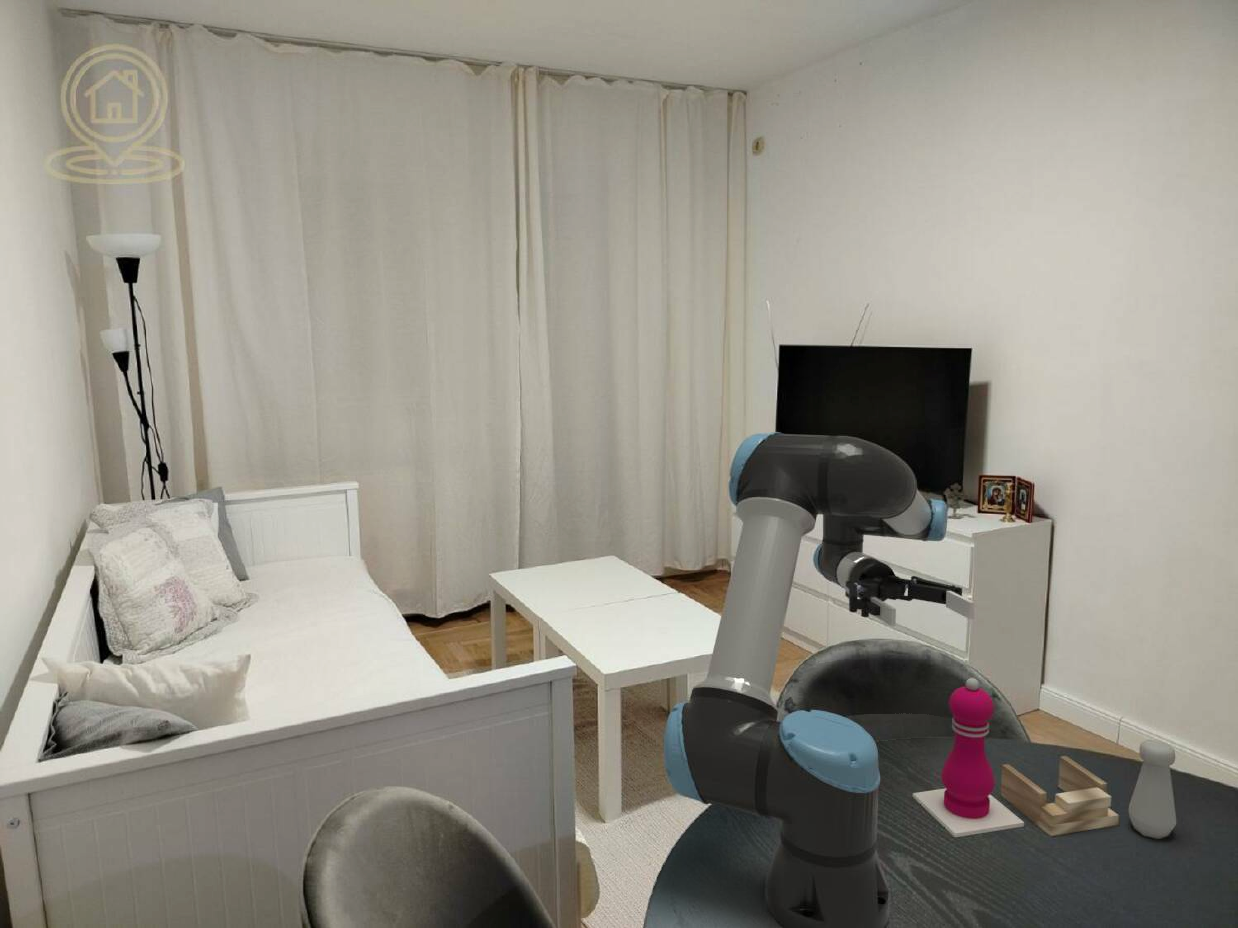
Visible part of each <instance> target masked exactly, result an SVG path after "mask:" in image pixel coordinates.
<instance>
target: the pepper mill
mask: <svg viewBox="0 0 1238 928" xmlns="http://www.w3.org/2000/svg"><path fill="white" fill-rule="evenodd" d="M979 687H980V684H979V681H978V680H977V679H976V678H974V677H970V678H968V679H967V680H966V682H965V686H961V687H959V688H956V689H955V690H954V691H953V692H952V694H951V695H950V697H949V701H948V707H949V710H950V712H951V714H952V716H953V717H952V719H951V722H952V724H951V729H952V730H953V731H954V741H953V742H954V743H953V747H952V749H951V751H950V753H949V755H948V756H947V758H946V760H945V761H944V764H943V767H942V770H941V782H942V785H943V786H944V788H946V790H945V792H944V805H945V807H946V808H947V809H948V810H949V811H950V812H952V813H953V814H956V815H958V816H961V817H965V818H981V817H984V816H986V815H987V814H988V813H989V808H990V799H989V797H988V796H989V795H991V794H992V792H993V791H994V789H995V777H994V773H993V772H994V771H993V769H992V767H991V765H990V763H989V760H988V758H987V755H986V750H985V749H986V747H985V741H986V736H987V735H988V734H989V733H990V730H989V728H990V723H989V722H988V721H989V720H991V718H992V717H993V715H994V712H995V711H994V710H995V707H994V706H995V705H994V701H993V699H992V697H991V695H990V694H988V693H987V692H986V691H985V690H984V689H982V688H979Z"/></svg>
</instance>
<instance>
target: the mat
mask: <svg viewBox="0 0 1238 928" xmlns="http://www.w3.org/2000/svg"><path fill="white" fill-rule="evenodd" d="M945 790H946V787H944V788H940V789H932V790H925V791H920V792H919V791H918V792H912V798H913V799H914V800H915V801H916V802H917V803H918V804H919V805H920V804H921V805H920V806H922V808H924V810H926V811H927V813H929V814H930V815H931V816H932V817H933V818H934V819H935V820H936V821H937V822H938V823H939V824H940V825H941V826H943V828H944V827H945V828H944V829H945V830H947V831H948V832H949V833H950V834H951V836H953V837H954V838H959V837H966V836H973V835H979V834H985V833H992V832H999V831H1003V830H1005V831H1006V830H1010V829H1016V828H1022V827H1023V828H1024V827H1025V822H1024V821H1023V820H1022V819H1021V818H1020V817H1018V816H1017V815H1016V814H1015V813H1013V812H1012V811H1011V810H1010V809H1009V808H1007V807H1006V805H1003V803H1001V802H1000V801H999V800H998V799H996V798H995V797H994V796H993V795H991V794H990V795H989V796H988V797H989V799H990V808H989V813H988V814H987V815H986V816H984V817H981V818H965V817H961V816H958V815H956V814H953V813H952V812H950V811H949V810H948V809H947V808H946V807H945V805H944V792H945Z"/></svg>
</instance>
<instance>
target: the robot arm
mask: <svg viewBox="0 0 1238 928" xmlns="http://www.w3.org/2000/svg"><path fill="white" fill-rule="evenodd" d="M733 456H734V457H733V459H732V462H731V466H730V469H729V477H730V480H729V481H728V494H729V497H730V501H731V503H732V504H733V506H735V507H736V509H735V510H736V511H735V512H736V515H737V517H738V518H739V520H740V522H742V528H741V531H740V536H739V539H738V540H739V541H738V545H737V548H736V553H735V556H734V560H733V564H732V570H731V574H730V578H729V582H728V587H727V590H726V595H725V599H724V604H723V608H722V612H721V614H720V615H721V616H720V621H719V625H718V629H717V632H716V638H715V643H714V645H713V650H712V652H711V653H712V654H711V658H710V663H709V667H708V672H707V676H706V678H705V679H704V680H703V681H701V682H699V683H697V684H695V685H694V686H693V687H692V688H691V693H690V698H689V702H686V701H683V702H679V703H676V704H675V705H673V707H672V709H671V711H670V713H669V715H668V717H667V721H666V726H665V730H664V737H663V762H664V767H665V773H666V777H667V780H668V782H669V784H670V786H671V788H672V789H673V790H674V791H675V793H677V794H678V795H680V796H681V797H685V798H688V799H691V800H695V801H697V802H700V803H702V805H706V806H708V805H709V804H710V805H713V806H717V807H721V808H725V809H730V810H734V811H739V812H743V813H747V814H749V815H753V816H754V815H755V816H759V817H764V818H767V819H771V820H775V821H778V822H779V841H778V844H777V847H776V848H775V851H774V854H773V856H772V859H771V863H770V865H769V868H768V870H767V873H766V876H765V885H764V886H765V888H764V889H765V891H764V896H765V904H766V906H767V908H768V910H769V912H770V914H771V916H773V918H774V919H775V920H776V921H777V922H778V923H779V924H780V925H782V926H783V927H784V928H885V927H886V925H887V923H888V921H889V918H890V913H891V911H890V910H891V894H890V889H889V886H888V882H887V878H886V876H885V873H884V870H883V866H882V863H881V861H880V860H881V859H880V858H879V854H878V851H877V841H878V836H877V835H878V833H877V832H878V811H879V786H880V783H881V774H880V770H879V767H880V766H879V751H878V747H877V744H876V741H875V740H874V738H873V737H872V736H871V734H869V732H868V731H866V729H865V728H864V727H862V726H861V725H860V724H858V723H857V722H855V721H853V720H852V719H850V718H847V717H844V716H842V715H840V714H837V713H834V712H833V713H832V712H829V711H824V710H817V709H810V711H806V710H804V709H803V710H797V711H796V710H795V711H793V712H791V713H789V714H787V715H786V716H785V717H783V718H782V721H778V714H779V708H778V706H777V705H776V703H775V702H774V701H773V699H772V698H771V691H772V690H771V689H772V685H773V680H774V674H775V669H776V666H777V660H778V655H779V650H780V644H781V641H782V635H783V630H784V627H785V626H784V625H785V620H786V616H787V611H788V606H789V600H790V597H791V591H792V588H793V587H792V586H793V582H794V576H795V572H796V568H797V561H798V557H799V552H800V547H801V543H802V537H803V536H805V535H807V534H809V533H811V532H812V531H813V530H814V529H815V527H816V524H817V523H816V522H817V518H818V515H822V540H821V543H819V544H818V545H817V547H816V548H815V551H814V553H813V557H812V560H813V566H814V567H815V569H816V571H817V572H818V573H819V574H820V575H822V576H823V578H824V579H826V581H827V580H828V581H829V582H832V583H834V584H836V585H838V586H839V587H841V588H843V589H844V591H845V595H844V596H845V597H846V598H848V608H849V609H848V611H849V612H850V613H857V612H858V610H861V612H860V613H861V617H862V618H868V617H870V615H871V616H874V617H875V618H876V619H879V620H880V621H882V622H883V623H885V624H887V625H888V626H890V627H896V619H897V618H896V617H897V608H896V607H893V606H891V605H890V604H888V603H886V601H887V600H893V601H897V600H900V601H907V602H912V601H913V600H917V601H923V602H928V603H935V604H941V605H945V607H946V608H947V609H949V610H951V611H953V612H955V613H957V614H959V615H961V616H963V617H964V618H967V619H968V620H973V619H974V617H975V601H973V600H971V599H969V598H967V597H965V596H963V588H962V587H960V586H955V585H954V584H952V585H950V584H946V583H941V582H937V581H934V580H927V579H924V578H921V577H920V576H919V577H918V576H916V575H913V576H911V577H910V579H907V578H902V577H900V576H898V575H896V574H895V571H894V570H893V569H892V567H890V566H889V565H888V564H886V563H884V562H883V561H880V560H878V559H877V558H874V557H872V556H871V555H868V554H865V553H864V552H863V550H864V536H873V537H883V538H884V537H885V538H886V537H887V538H894V539H896V538H897V539H905V540H915V541H922V542H928V541H929V542H941V541H943V540H944V539H945V537H946V534H947V530H948V528H947V527H948V518H949V517H948V516H949V515H948V514H949V513H948V512H949V511H948V505H947V503H946V502H945V501H944V500H939V499H933V498H924V496H923V495H922V493H921V492H920V491H919V489H918V483H917V478H916V475H915V473H914V472H913V470H912V468H911V467H910V466H909V465H908V464H907V463H906V461H904V460H903V459H902V458H901V457H900V456H898V455H896V454H895V453H894V452H892V451H891V450H889V449H886V448H885V447H882V446H880V445H878V444H877V443H873V442H871V441H868V440H865V439H862V438H859V437H854V436H849V435H820V434H819V435H817V434H793V433H792V434H789V433H788V434H787V433H782V432H778V431H774V432H770V433H755V434H752V435H750V436H748V437H746V438H745V439H744V440H743V441H742V442H741V444H739V446H738V448H737V450H736V452H735V454H734V455H733ZM906 592H907V595H905V594H906Z"/></svg>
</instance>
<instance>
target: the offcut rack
mask: <svg viewBox="0 0 1238 928" xmlns="http://www.w3.org/2000/svg"><path fill="white" fill-rule="evenodd" d="M1058 768H1059V769H1058V785H1057V787H1058V788H1060V790H1062V791H1063V792H1060V793H1055V795H1054V802H1051V803H1047V794H1048V793H1047V792H1046V791H1045V790H1044V789H1042V788H1041V787H1039V786H1038V785H1037V784H1036V783H1034V782H1033V781H1031V779H1029V778H1028V777H1027V776H1024V774H1022V773H1021V772H1019V770H1017V769H1015V768H1014V767H1013V766H1012V765H1010V764H1009V763H1006V764H1002V765H1001V788H1000V796H1001V797H1002V798H1003V799H1004V800H1005V801H1007V802H1008V803H1009V804H1011V806H1013V807H1014V808H1015V809H1016V810H1018V811H1019V812H1021V814H1023V815H1024V816H1025V817H1027V818H1028V819H1029V820H1030V821H1031V822H1033V823H1034V824H1035V825H1036V826H1037V827H1039V828H1040V829H1041V830H1042V831H1044V832H1045V833H1046V834H1047V835H1049V837H1053V836H1059V835H1066V834H1071V833H1072V834H1073V833H1077V832H1083V831H1089V830H1094V829H1095V830H1096V829H1101V828H1102V829H1103V828H1109V827H1112V826H1119V820H1120V819H1119V818H1120V815H1119V814H1118V813H1116V812H1115V811H1114V810H1112V809H1111V808H1110V807H1111V805H1112V796H1111V795H1110V794H1108V792H1107V791H1108V783H1107V782H1106V781H1104V780H1103V779H1102V778H1100V777H1098V776H1097V775H1095V774H1093V773H1092V772H1090V771H1089V770H1088V769H1086V768H1085V767H1083V766H1082V765H1080V763H1079V764H1078V763H1077V762H1076V761H1075V760H1073V759H1071V757H1069V756H1067V755H1063V756H1059V766H1058Z"/></svg>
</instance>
